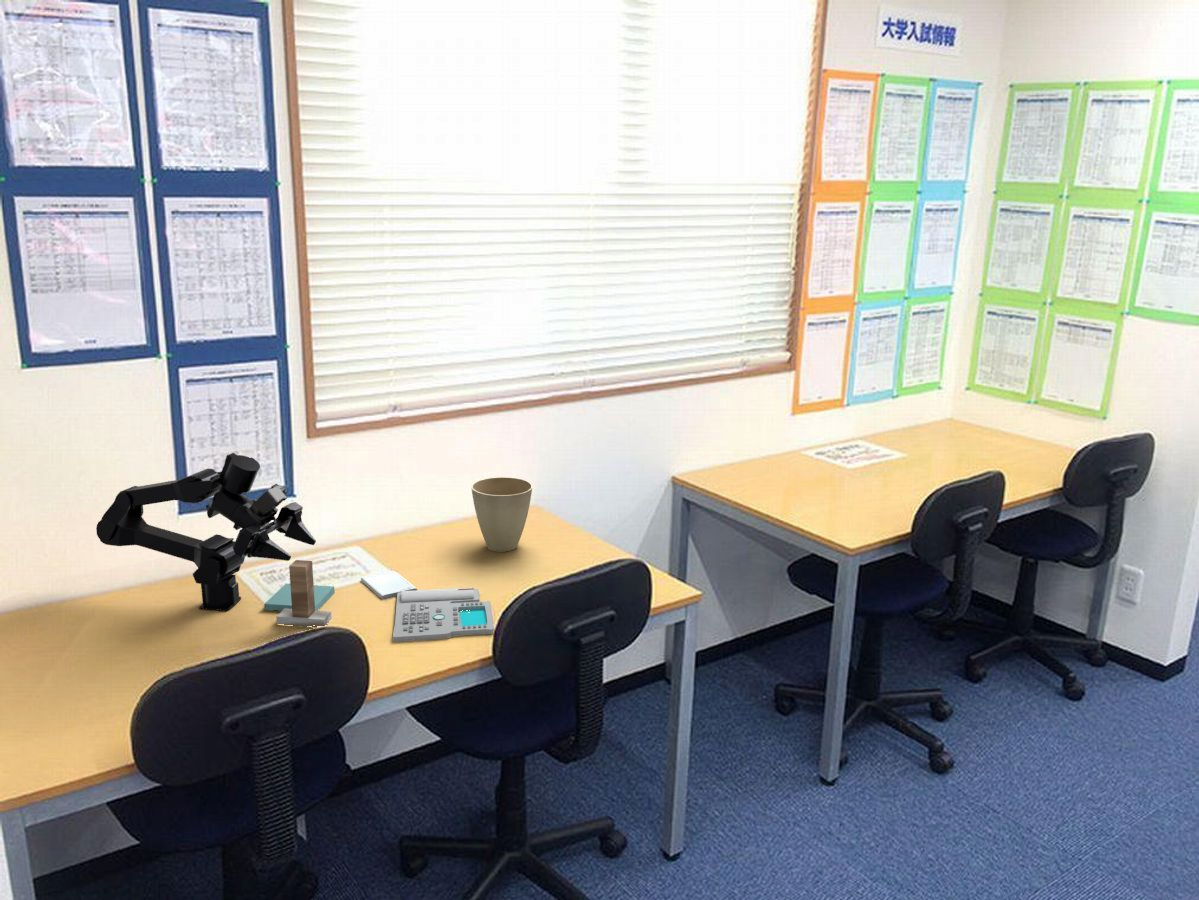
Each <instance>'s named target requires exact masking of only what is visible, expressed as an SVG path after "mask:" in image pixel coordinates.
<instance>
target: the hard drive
mask: <svg viewBox="0 0 1199 900" xmlns="http://www.w3.org/2000/svg"><path fill="white" fill-rule="evenodd" d="M360 582H361V583H363V584H364V585H365V586H366V587H368V588H369V590H371V591H372V592H373V593H374V594H375V595H376V596H378V598H380V599H381V600H388V599H392V598H395V597H396V598H397V593H398V592H402V591H415V590H418V589H417V587H415V586H414V585H413V584H412V583H410V582H409V581H408V580H407V579H405V578H404V577H403V576H402V575H401V574H399V573H398V572H396V571H395V570H389V571H384V572H379V573H375V574H369V575H365V576H362V577H361V578H360ZM391 597H392V598H391Z"/></svg>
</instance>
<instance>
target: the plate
mask: <svg viewBox="0 0 1199 900" xmlns="http://www.w3.org/2000/svg"><path fill="white" fill-rule="evenodd" d="M334 594H335V586H331V585H315V584H314V599H315V610H317V611H319V610H320V609H321V608H322V607H323V606H324V605H325V604H326V603H327V602H326V601H327V600H328V601H329V600H330V599H331V598H332V596H333V595H334ZM325 602H326V603H325ZM324 603H325V604H324ZM323 604H324V605H323ZM320 607H321V608H320ZM284 608H286V609H292V601H291V586H290V583H285V584H283V586H282V587H281V588H280V589H278V591H276V592H275V593H274V594H273V595H272V596H271V597H269V599H268V600H267V601H265V603H264V611H266V610H279V611H278V612H281V611H282V610H283V609H284ZM319 608H320V609H319ZM318 609H319V610H318Z"/></svg>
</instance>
